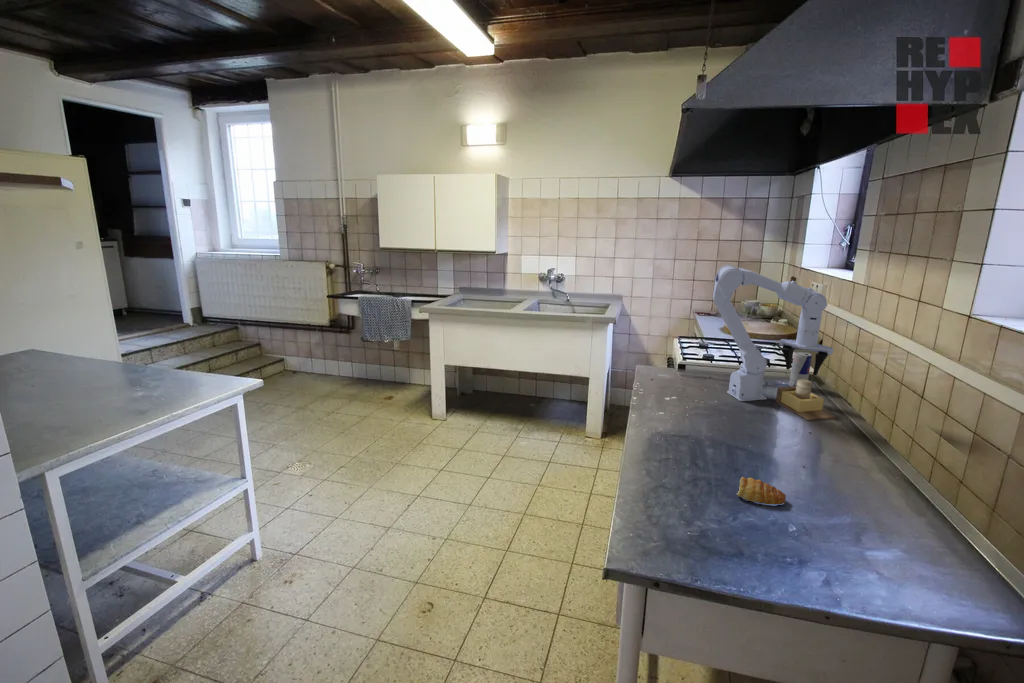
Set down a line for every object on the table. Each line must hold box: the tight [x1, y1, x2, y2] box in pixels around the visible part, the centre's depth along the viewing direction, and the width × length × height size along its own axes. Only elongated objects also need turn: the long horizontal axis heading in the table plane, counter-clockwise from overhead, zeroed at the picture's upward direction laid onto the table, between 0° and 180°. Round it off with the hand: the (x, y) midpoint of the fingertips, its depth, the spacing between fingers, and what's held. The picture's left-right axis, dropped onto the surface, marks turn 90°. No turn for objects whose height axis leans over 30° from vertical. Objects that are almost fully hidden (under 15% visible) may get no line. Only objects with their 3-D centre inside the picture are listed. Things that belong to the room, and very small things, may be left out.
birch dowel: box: [795, 379, 813, 399], centre depth 150 cm, size 4×4×7 cm
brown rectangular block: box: [775, 386, 836, 421], centre depth 150 cm, size 9×14×5 cm, turn 9°
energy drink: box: [788, 351, 812, 387], centre depth 168 cm, size 5×5×12 cm
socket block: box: [781, 391, 825, 412], centre depth 151 cm, size 8×8×4 cm
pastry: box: [736, 476, 787, 504], centre depth 106 cm, size 9×7×4 cm
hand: (801, 371), depth 155 cm, fingers open, 7 cm apart
